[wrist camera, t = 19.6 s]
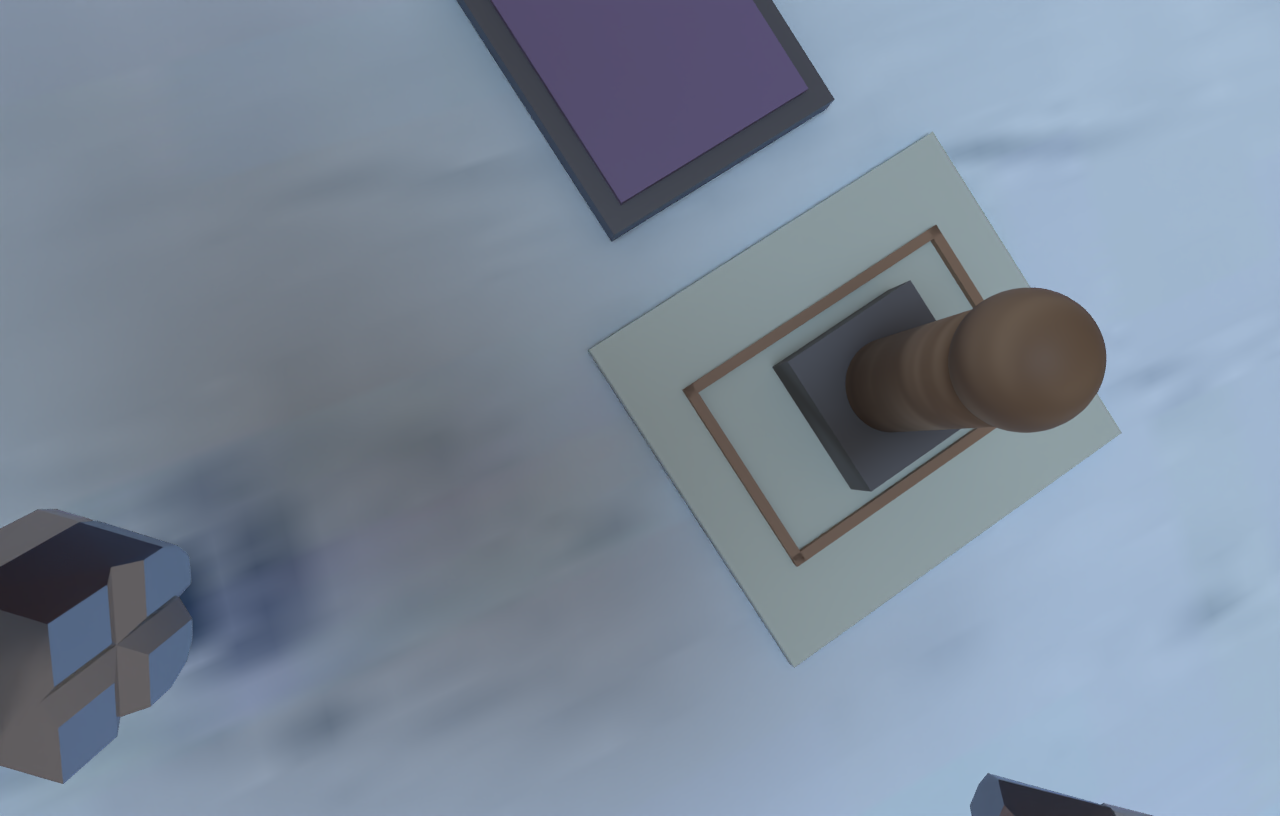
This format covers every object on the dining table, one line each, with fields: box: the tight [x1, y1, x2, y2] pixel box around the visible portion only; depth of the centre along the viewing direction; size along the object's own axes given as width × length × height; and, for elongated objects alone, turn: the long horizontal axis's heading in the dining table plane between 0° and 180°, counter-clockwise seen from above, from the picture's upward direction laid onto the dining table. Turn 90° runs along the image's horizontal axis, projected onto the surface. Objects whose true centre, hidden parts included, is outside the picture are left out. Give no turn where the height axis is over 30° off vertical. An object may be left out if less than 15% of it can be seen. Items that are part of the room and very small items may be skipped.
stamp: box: [772, 280, 1106, 492], centre depth 28 cm, size 6×6×12 cm
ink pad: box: [457, 0, 834, 241], centre depth 33 cm, size 12×10×1 cm
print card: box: [588, 132, 1122, 668], centre depth 34 cm, size 14×16×1 cm
